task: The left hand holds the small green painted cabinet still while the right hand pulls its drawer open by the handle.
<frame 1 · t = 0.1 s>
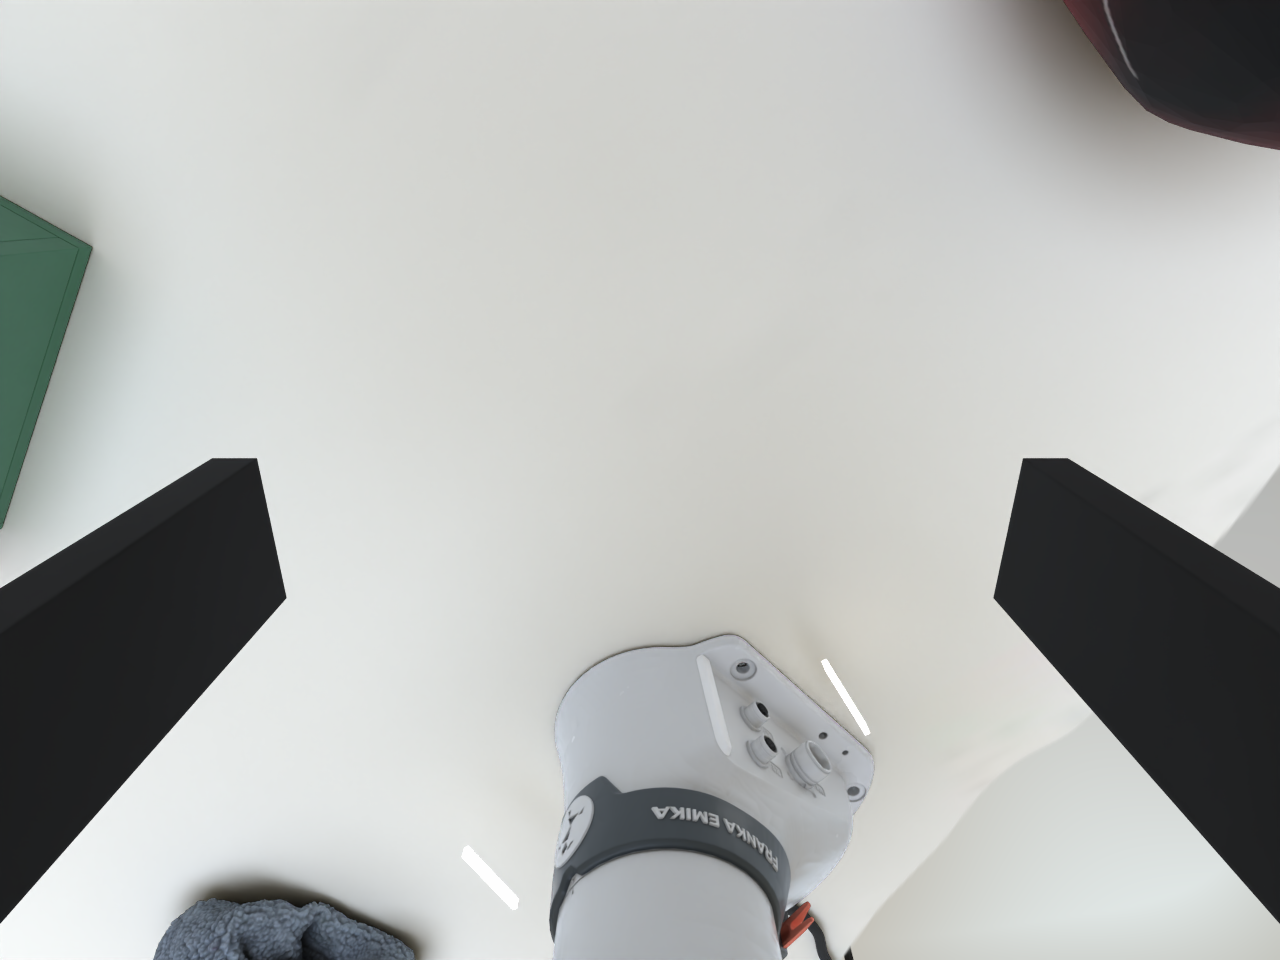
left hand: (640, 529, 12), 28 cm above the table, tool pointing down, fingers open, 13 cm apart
koala plush: (288, 948, 57), on the table
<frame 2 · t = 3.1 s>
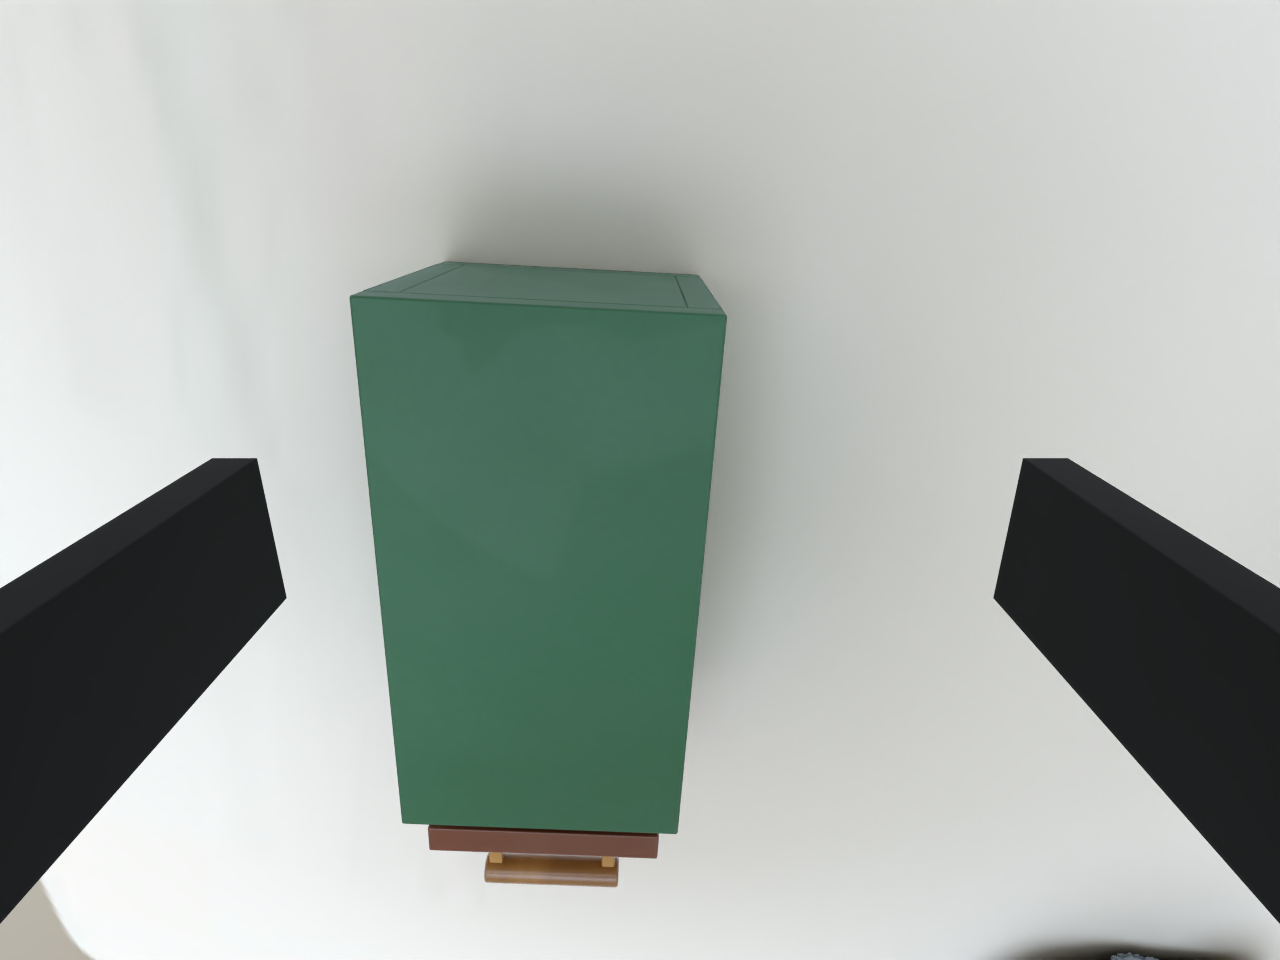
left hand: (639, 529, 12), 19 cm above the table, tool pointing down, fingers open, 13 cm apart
drawer: (555, 665, 30), point 5 cm above the table, slide at 1.3 cm
cabinet: (568, 488, 32), on the table
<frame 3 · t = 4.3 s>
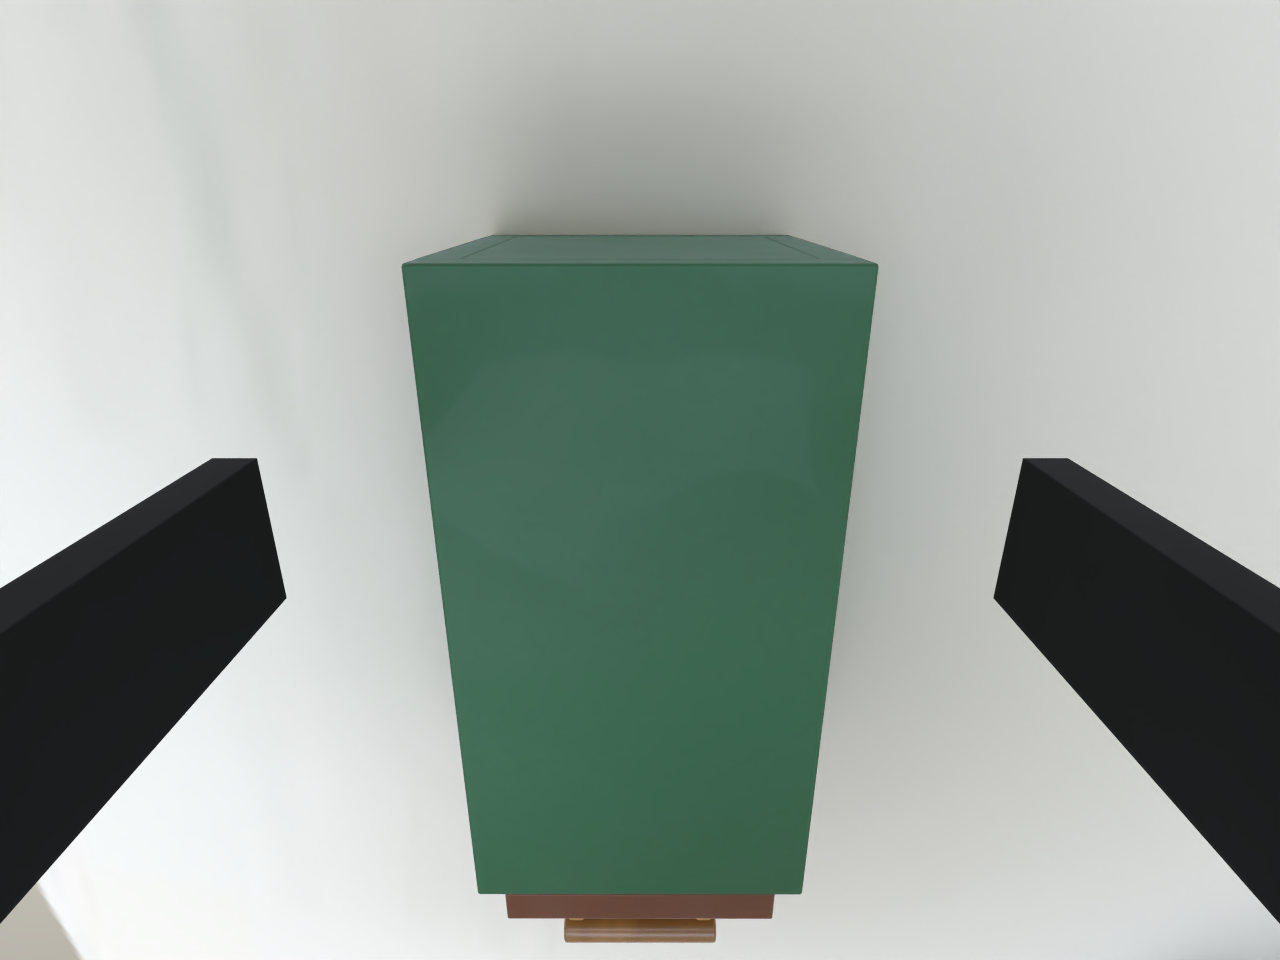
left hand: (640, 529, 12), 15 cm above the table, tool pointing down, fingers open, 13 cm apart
drawer: (640, 697, 26), point 5 cm above the table, slide at 1.3 cm
cabinet: (640, 491, 28), on the table
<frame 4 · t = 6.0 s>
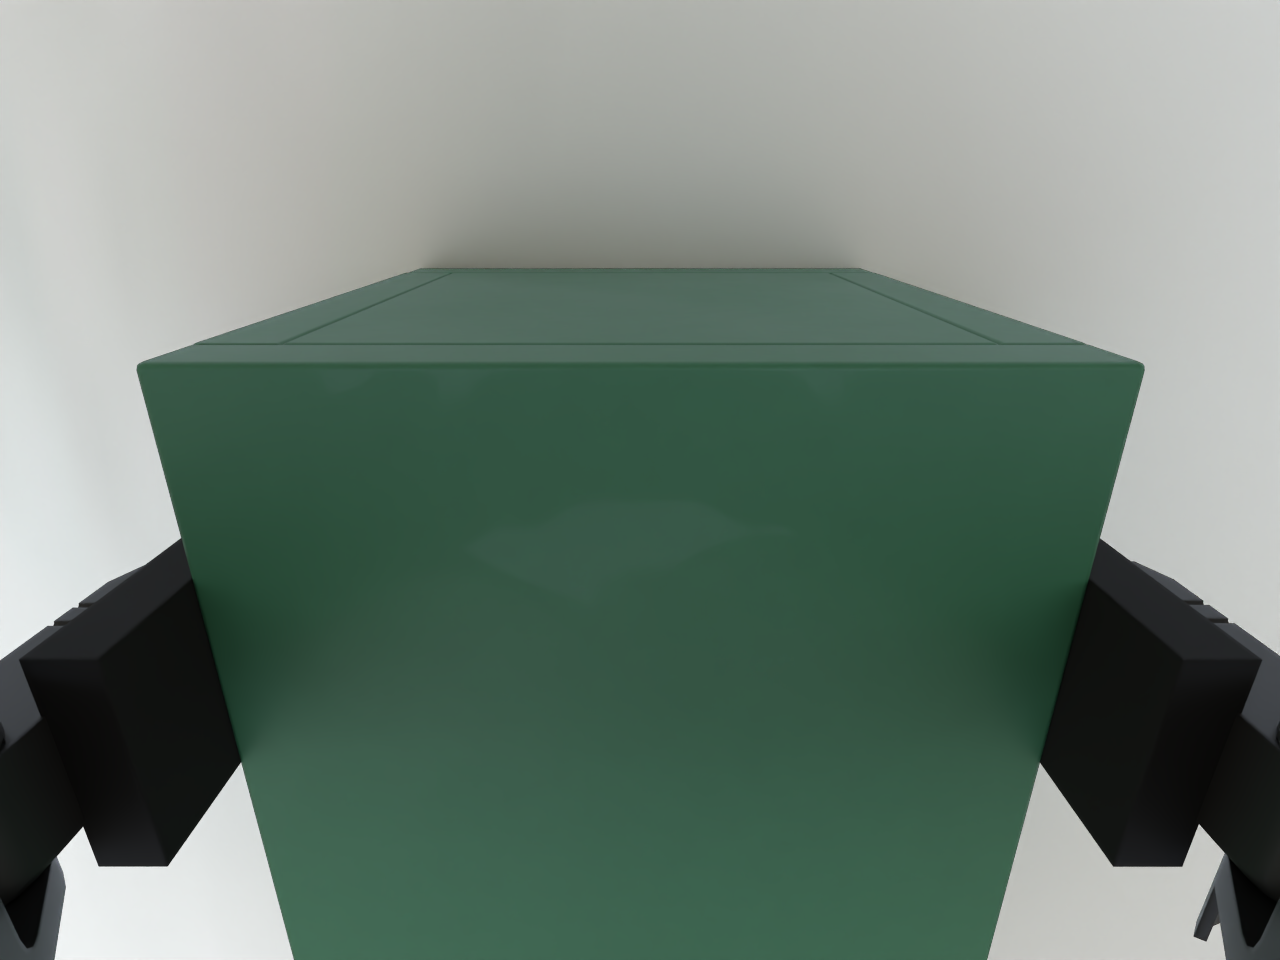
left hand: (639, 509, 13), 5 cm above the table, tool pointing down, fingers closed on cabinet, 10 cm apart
cabinet: (640, 623, 20), on the table, touching left hand
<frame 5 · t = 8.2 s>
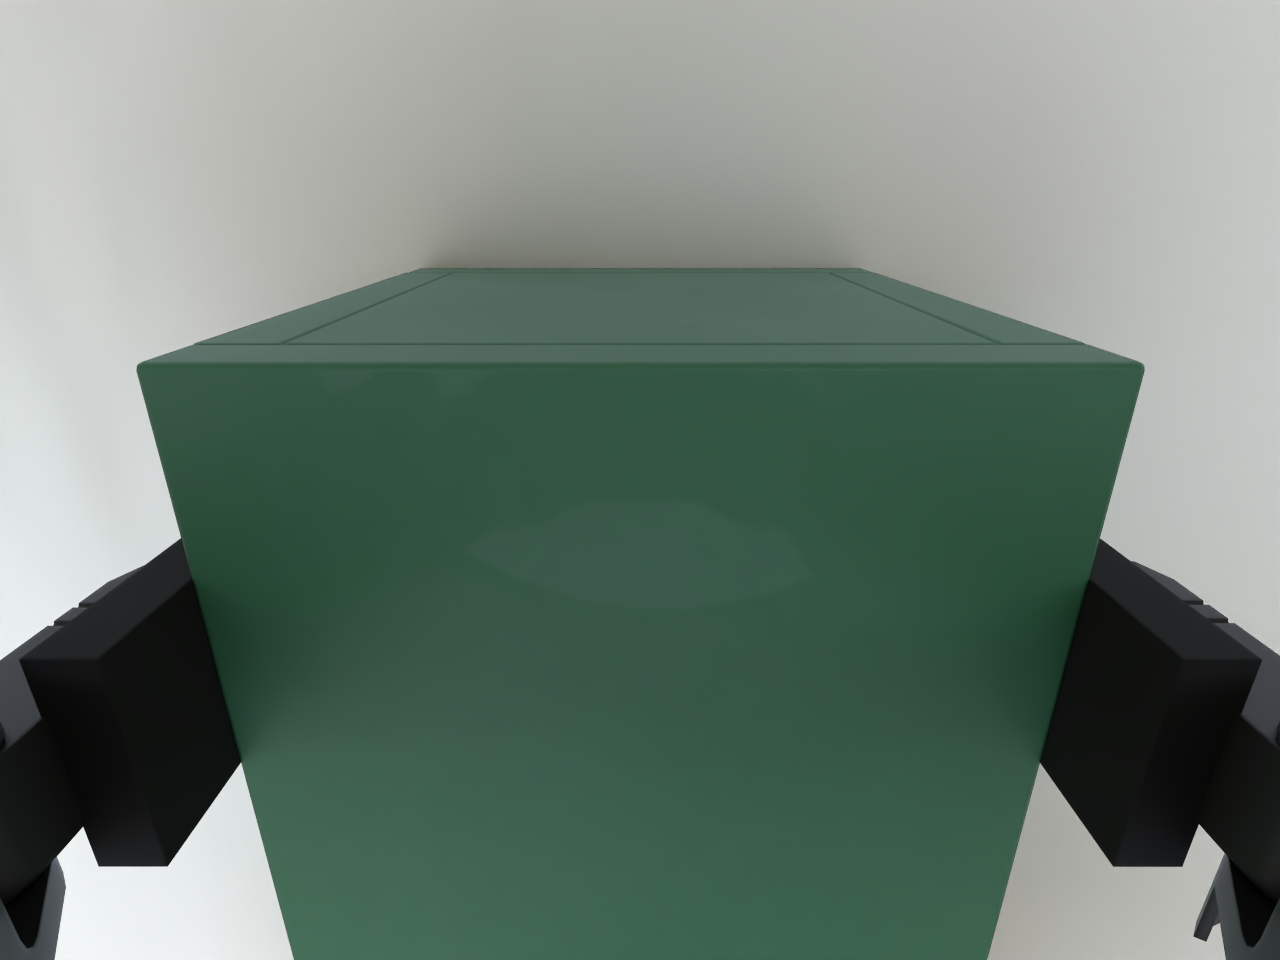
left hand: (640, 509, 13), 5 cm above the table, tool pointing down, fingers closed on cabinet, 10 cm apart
cabinet: (640, 623, 20), on the table, touching left hand
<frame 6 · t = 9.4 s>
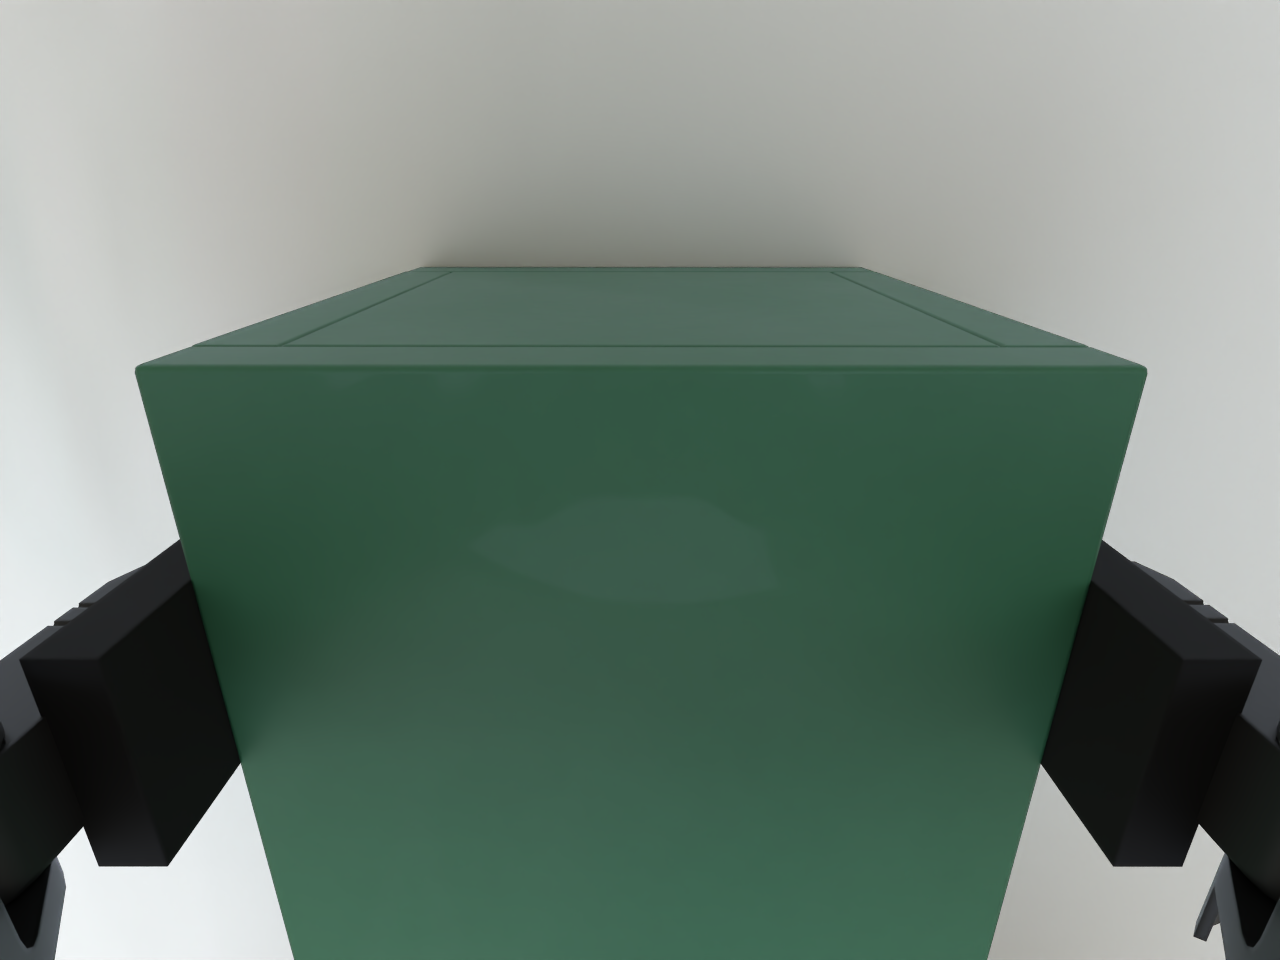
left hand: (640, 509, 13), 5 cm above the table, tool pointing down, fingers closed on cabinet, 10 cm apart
cabinet: (640, 622, 20), on the table, touching left hand
when the left hand's fingers open (5 cm above the table, at t = 11.0 s): cabinet stays where it is, on the table.
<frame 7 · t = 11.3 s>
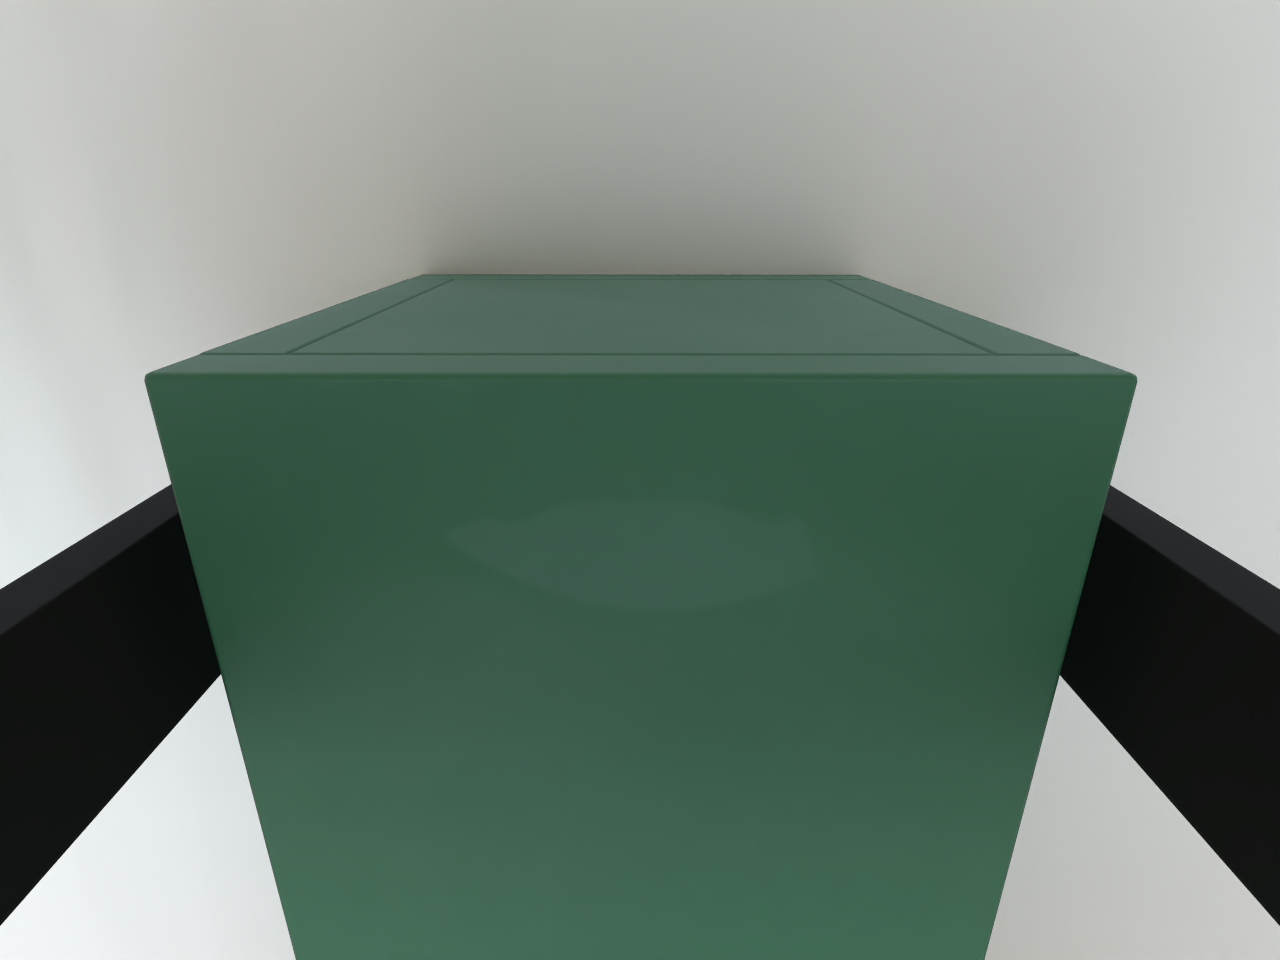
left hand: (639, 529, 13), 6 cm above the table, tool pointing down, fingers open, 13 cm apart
cabinet: (640, 626, 20), on the table
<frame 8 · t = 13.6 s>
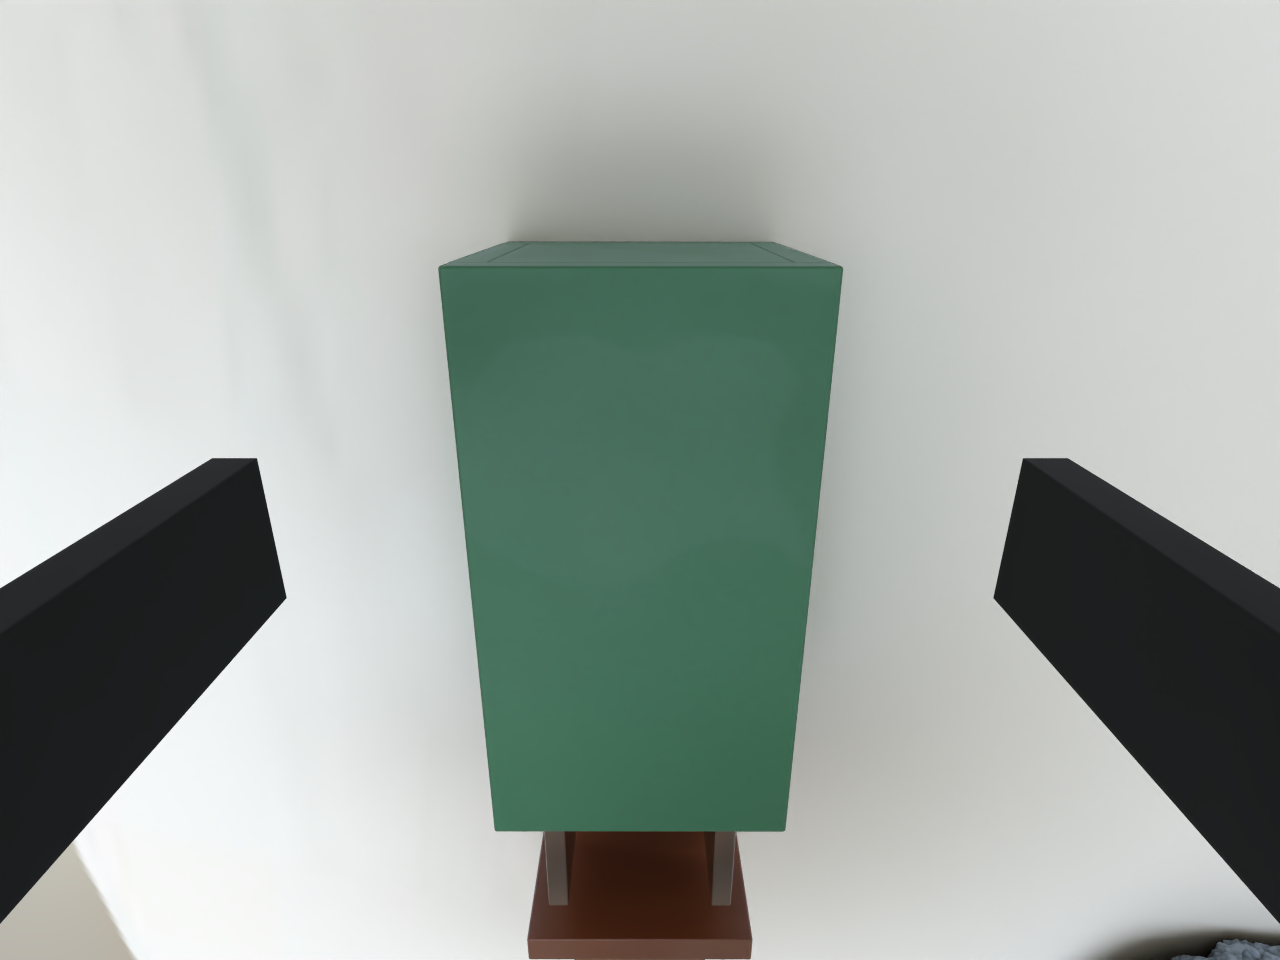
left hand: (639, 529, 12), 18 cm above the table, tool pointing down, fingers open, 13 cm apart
drawer: (639, 769, 31), point 5 cm above the table, slide at 7.0 cm
cabinet: (640, 475, 31), on the table
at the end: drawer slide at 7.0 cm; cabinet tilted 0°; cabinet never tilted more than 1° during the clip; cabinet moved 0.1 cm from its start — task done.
